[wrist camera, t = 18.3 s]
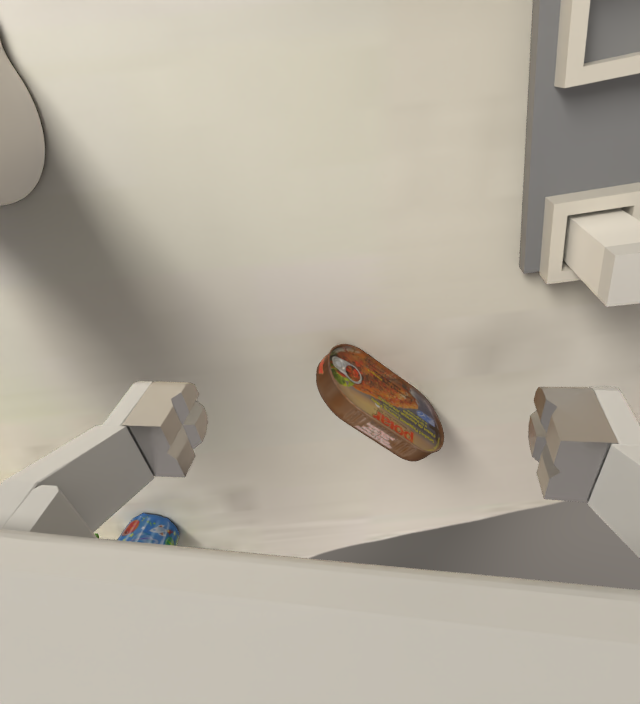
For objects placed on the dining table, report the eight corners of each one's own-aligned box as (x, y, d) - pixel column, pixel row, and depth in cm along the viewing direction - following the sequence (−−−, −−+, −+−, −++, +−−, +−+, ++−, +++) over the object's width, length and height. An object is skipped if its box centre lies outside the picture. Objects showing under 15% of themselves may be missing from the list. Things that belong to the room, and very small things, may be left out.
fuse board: (519, 269, 39) (530, 286, 36) (554, -408, 21) (583, -482, 18) (631, 254, 38) (653, 271, 35) (778, -497, 19) (849, -595, 16)
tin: (441, 406, 49) (452, 464, 42) (420, 421, 50) (428, 480, 43) (335, 329, 45) (327, 379, 38) (316, 348, 46) (306, 400, 39)
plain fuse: (559, 255, 37) (606, 306, 29) (563, 212, 35) (615, 255, 27) (607, 249, 36) (667, 299, 29) (614, 204, 34) (681, 247, 27)
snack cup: (213, 523, 65) (189, 592, 57) (199, 558, 71) (176, 626, 63) (108, 490, 63) (68, 557, 55) (103, 529, 69) (65, 595, 61)
